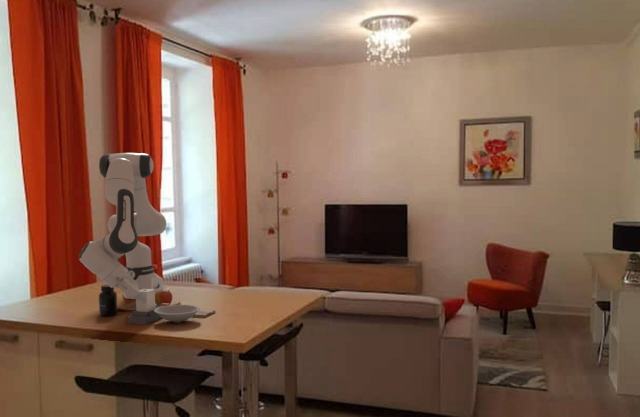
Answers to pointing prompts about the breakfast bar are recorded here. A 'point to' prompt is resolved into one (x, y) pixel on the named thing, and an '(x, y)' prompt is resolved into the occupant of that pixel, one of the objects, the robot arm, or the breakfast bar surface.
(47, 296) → the breakfast bar surface
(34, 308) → the breakfast bar surface
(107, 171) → the robot arm
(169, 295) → the apple
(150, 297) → the block
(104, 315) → the supplement bottle
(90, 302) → the breakfast bar surface
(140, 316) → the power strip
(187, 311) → the dish
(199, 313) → the cork pad
